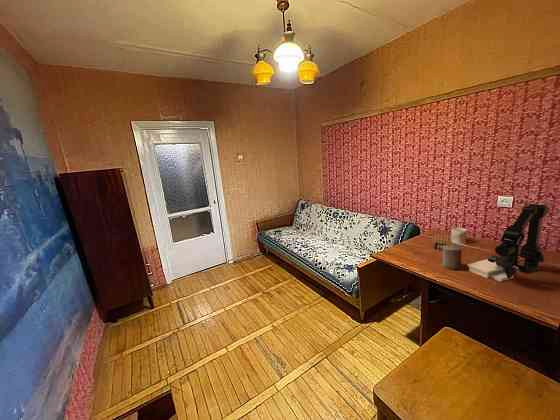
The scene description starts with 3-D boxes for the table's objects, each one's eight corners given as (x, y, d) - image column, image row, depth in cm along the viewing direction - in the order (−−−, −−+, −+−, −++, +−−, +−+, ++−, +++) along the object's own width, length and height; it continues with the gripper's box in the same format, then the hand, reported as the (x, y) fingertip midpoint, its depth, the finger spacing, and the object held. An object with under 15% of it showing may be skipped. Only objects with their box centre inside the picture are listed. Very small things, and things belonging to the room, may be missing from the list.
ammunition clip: (451, 250, 172) (452, 235, 169) (451, 251, 170) (452, 235, 168) (434, 248, 178) (434, 233, 175) (434, 249, 176) (434, 234, 174)
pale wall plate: (485, 268, 142) (486, 265, 142) (513, 278, 129) (513, 275, 129) (473, 271, 140) (474, 268, 140) (500, 282, 127) (500, 279, 126)
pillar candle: (464, 269, 143) (466, 246, 141) (451, 271, 142) (452, 248, 139) (451, 263, 153) (452, 241, 150) (438, 265, 151) (439, 243, 149)
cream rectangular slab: (487, 265, 145) (488, 258, 144) (508, 272, 134) (509, 265, 134) (467, 270, 141) (467, 264, 140) (487, 278, 131) (487, 271, 130)
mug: (447, 240, 190) (447, 228, 188) (460, 239, 191) (461, 226, 189) (458, 245, 179) (458, 231, 177) (471, 243, 181) (472, 229, 178)
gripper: (481, 249, 131) (479, 273, 134) (522, 261, 114) (519, 289, 116) (495, 245, 134) (493, 270, 137) (538, 256, 116) (534, 284, 119)
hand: (508, 278), depth 127 cm, fingers closed
